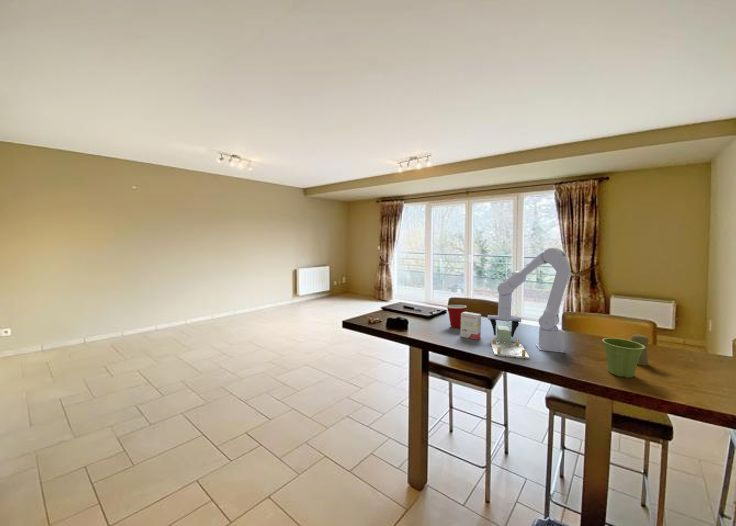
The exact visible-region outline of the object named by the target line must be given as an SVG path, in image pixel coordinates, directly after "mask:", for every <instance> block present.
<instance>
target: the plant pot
mask: <svg viewBox="0 0 736 526" xmlns="http://www.w3.org/2000/svg"><path fill="white" fill-rule="evenodd" d="M601 340H602V341H601V342H603V346H604V350H605V356H606V357H605V358H606V365H607V371H608V372H609V373H610V374H611V375H614V376H616V377H625V378H626V379H627V378H628V379H629V378H633V377H634V376H635V373H636V369H637V367H638V365H637V364H638V360H639V357H640V355H641V353H642V350H643V349H645V346H644V345H642V344H640V343H637V342H633V341H631V340H629V339H623V338H617V337H605V338H602V339H601Z"/></svg>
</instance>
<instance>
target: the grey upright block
mask: <svg viewBox="0 0 736 526" xmlns="http://www.w3.org/2000/svg"><path fill="white" fill-rule="evenodd" d="M630 339H631V340H630V341H633V342H637V343H640V344H642V345H644V346H645V349H643V350H642V353H641V355H640V357H639V360H638V365H637V366H641V365H648V366H649V359H648V348H647V347H648V346H647V345H648V343H649V341H650V340H649V337H648V336H646V335H644V334H643V335H642V334H632V335H631V337H630Z"/></svg>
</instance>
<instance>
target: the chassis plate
mask: <svg viewBox="0 0 736 526" xmlns="http://www.w3.org/2000/svg"><path fill="white" fill-rule="evenodd" d="M489 344H490V347H491V346H492V347H491V350H492V349H493V350H492V352H494V353H493V356H495V355H498V356H497V357H505V356H506V357H507V358H514V357H516V359H524V358H525V360H530V356H529V354H528V353H527V351H526V349H525V348H524V346H523V345H522V344H521V343H520V339H515V343H512V342H511V343H504V342H499V341H498V339H497V336H494V337H493V341H492V340H490V343H489Z"/></svg>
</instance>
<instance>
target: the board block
mask: <svg viewBox="0 0 736 526" xmlns="http://www.w3.org/2000/svg"><path fill="white" fill-rule="evenodd" d="M495 337H496V338H498V339H497V342H505V343H512V337H511V330H510V328H509V326H507V325H506V326H505V325H496V336H495Z"/></svg>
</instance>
